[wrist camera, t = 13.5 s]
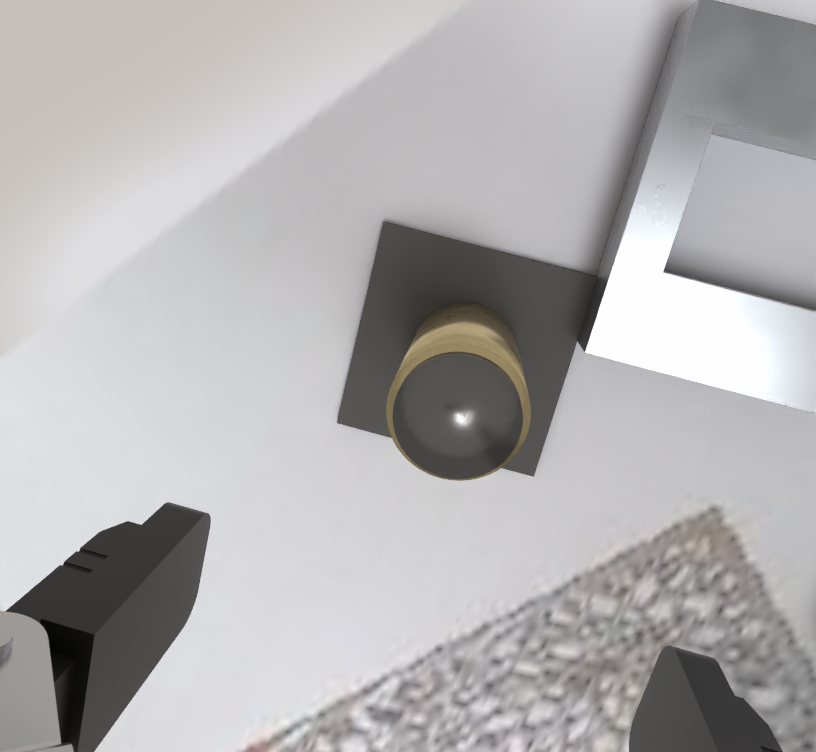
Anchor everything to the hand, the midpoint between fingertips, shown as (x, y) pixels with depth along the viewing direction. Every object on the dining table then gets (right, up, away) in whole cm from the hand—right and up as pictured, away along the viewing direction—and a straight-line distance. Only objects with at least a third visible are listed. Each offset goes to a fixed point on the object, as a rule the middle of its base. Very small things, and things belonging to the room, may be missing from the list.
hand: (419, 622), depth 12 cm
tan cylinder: (+2, +5, +21) cm, 22 cm away
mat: (+2, +5, +21) cm, 22 cm away
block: (+16, +11, +18) cm, 27 cm away
